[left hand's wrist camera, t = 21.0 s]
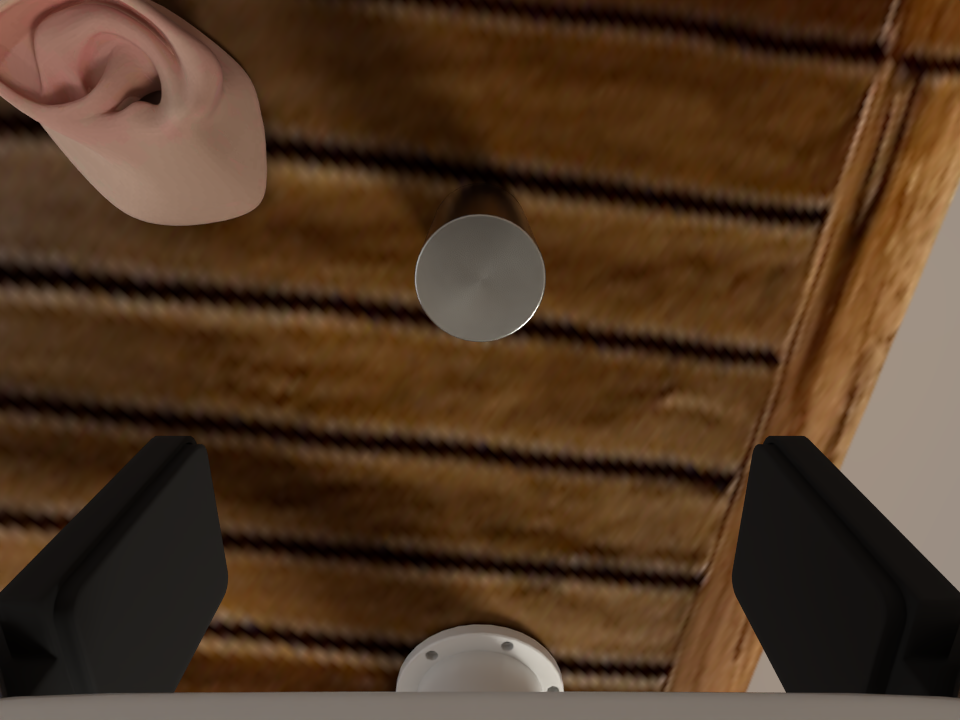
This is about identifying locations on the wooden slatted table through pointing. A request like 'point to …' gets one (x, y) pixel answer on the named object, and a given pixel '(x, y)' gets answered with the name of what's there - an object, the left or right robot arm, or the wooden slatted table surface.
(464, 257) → the can
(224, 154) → the anatomical model
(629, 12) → the wooden slatted table surface
